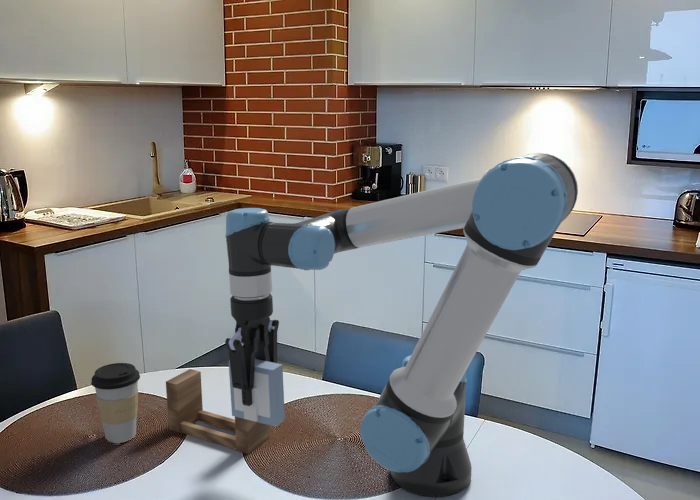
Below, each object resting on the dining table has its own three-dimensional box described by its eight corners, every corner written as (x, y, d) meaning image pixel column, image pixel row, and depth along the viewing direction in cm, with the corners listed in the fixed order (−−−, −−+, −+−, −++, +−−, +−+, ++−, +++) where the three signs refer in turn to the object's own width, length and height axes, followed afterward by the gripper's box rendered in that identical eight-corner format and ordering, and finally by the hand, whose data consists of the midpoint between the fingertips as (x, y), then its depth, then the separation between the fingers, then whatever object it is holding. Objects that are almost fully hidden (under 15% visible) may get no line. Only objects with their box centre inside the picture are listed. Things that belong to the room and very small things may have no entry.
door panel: (284, 419, 120) (282, 364, 118) (274, 427, 118) (272, 370, 115) (241, 409, 125) (238, 355, 123) (231, 416, 122) (227, 361, 120)
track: (270, 437, 135) (268, 388, 133) (248, 454, 129) (246, 403, 126) (192, 414, 145) (190, 368, 142) (168, 429, 138) (165, 381, 136)
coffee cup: (129, 451, 130) (123, 381, 126) (87, 446, 132) (80, 377, 128) (152, 428, 139) (147, 363, 135) (112, 424, 141) (107, 359, 137)
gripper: (260, 281, 125) (266, 394, 130) (204, 304, 111) (213, 429, 116) (293, 285, 122) (298, 401, 127) (239, 309, 107) (247, 438, 112)
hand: (257, 414), depth 121 cm, fingers closed on door panel, 3 cm apart
